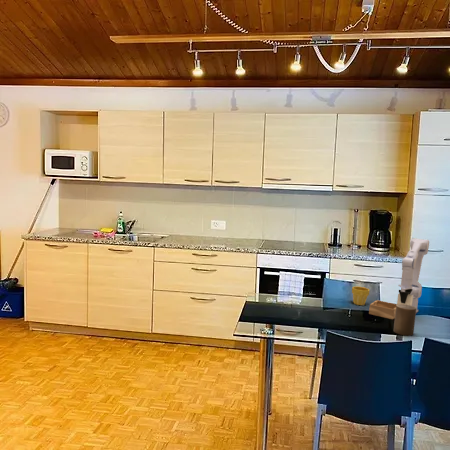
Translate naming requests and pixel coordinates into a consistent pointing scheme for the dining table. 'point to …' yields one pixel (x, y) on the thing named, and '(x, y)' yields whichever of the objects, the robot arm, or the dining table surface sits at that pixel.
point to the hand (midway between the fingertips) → (404, 302)
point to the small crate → (408, 300)
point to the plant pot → (360, 295)
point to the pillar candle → (404, 319)
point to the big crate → (383, 309)
